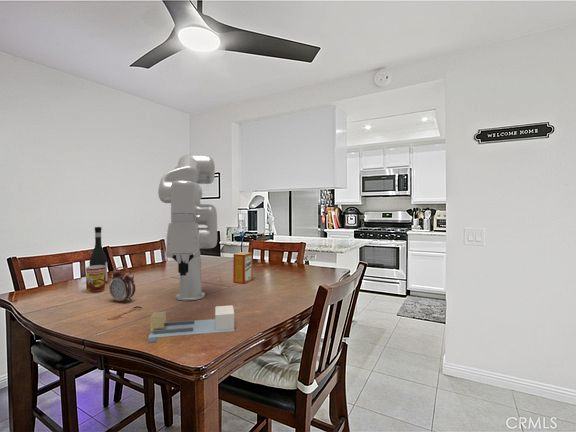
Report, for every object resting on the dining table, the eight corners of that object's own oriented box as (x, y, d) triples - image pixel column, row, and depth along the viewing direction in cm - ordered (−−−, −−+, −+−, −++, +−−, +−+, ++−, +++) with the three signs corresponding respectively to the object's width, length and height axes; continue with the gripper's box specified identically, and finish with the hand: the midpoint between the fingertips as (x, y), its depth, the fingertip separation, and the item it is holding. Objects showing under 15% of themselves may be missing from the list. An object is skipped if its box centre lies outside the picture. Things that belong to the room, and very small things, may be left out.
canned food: (87, 294, 146) (87, 268, 146) (84, 291, 152) (84, 266, 152) (107, 291, 152) (106, 266, 151) (103, 288, 158) (103, 264, 157)
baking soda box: (242, 279, 179) (242, 251, 179) (252, 280, 177) (252, 251, 177) (233, 282, 171) (233, 253, 170) (244, 284, 168) (244, 254, 168)
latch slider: (153, 326, 104) (153, 312, 104) (166, 325, 105) (165, 311, 105) (150, 332, 99) (150, 317, 99) (163, 331, 100) (163, 316, 100)
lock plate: (155, 327, 108) (155, 320, 107) (232, 321, 113) (232, 315, 113) (147, 342, 96) (147, 334, 96) (234, 335, 102) (234, 327, 102)
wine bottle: (103, 281, 172) (102, 226, 171) (110, 283, 168) (109, 227, 167) (87, 284, 166) (86, 227, 165) (93, 286, 161) (93, 227, 160)
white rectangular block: (215, 320, 111) (215, 306, 110) (232, 319, 112) (232, 305, 112) (215, 330, 102) (215, 315, 102) (234, 328, 103) (234, 313, 103)
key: (116, 323, 113) (148, 310, 127) (116, 321, 113) (148, 308, 127) (104, 320, 115) (136, 307, 129) (104, 317, 115) (137, 305, 129)
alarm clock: (108, 301, 136) (108, 267, 135) (118, 298, 140) (117, 265, 140) (127, 304, 132) (127, 269, 132) (136, 301, 137) (136, 267, 136)
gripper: (207, 218, 108) (207, 271, 108) (161, 218, 105) (161, 273, 106) (206, 219, 100) (206, 276, 101) (156, 219, 98) (156, 278, 98)
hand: (183, 274), depth 103 cm, fingers closed
